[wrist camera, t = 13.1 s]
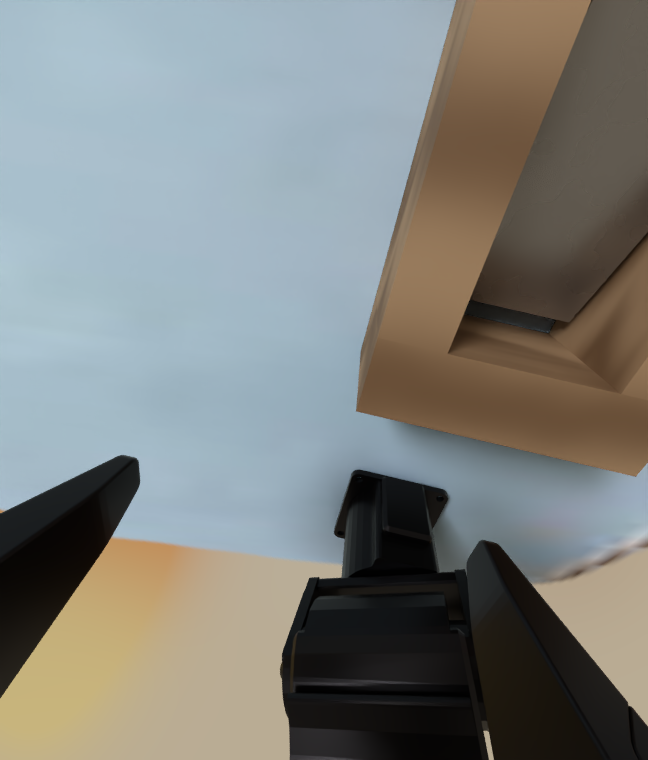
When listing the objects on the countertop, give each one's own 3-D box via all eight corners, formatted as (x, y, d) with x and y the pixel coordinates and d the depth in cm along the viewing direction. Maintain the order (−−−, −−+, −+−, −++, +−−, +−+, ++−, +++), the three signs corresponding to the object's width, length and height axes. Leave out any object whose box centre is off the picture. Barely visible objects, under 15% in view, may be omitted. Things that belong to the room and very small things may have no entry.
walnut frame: (565, 398, 20) (635, 476, 14) (360, 351, 20) (356, 411, 15) (900, -134, 11) (1438, -462, 5) (515, -216, 11) (655, -615, 5)
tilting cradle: (565, 314, 17) (568, 322, 16) (447, 287, 17) (447, 294, 16) (856, -32, 8) (877, -32, 8) (624, -81, 9) (634, -85, 8)
